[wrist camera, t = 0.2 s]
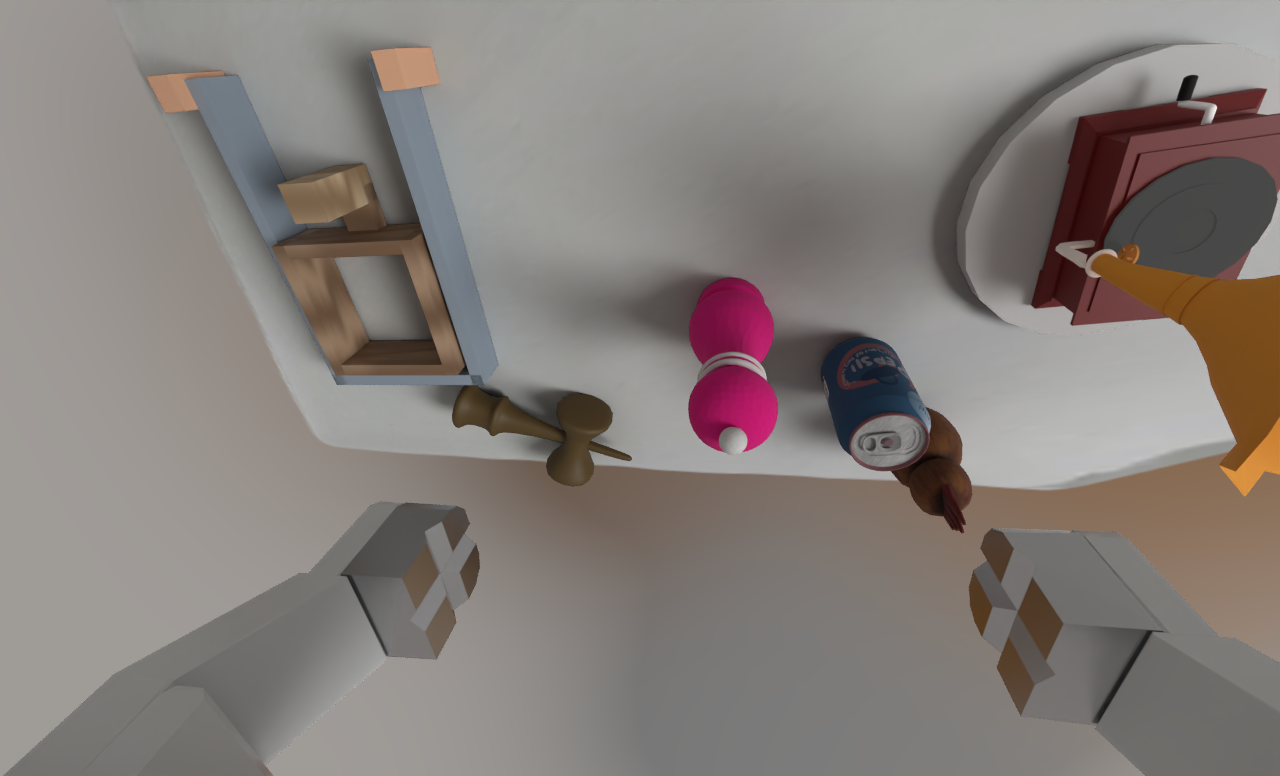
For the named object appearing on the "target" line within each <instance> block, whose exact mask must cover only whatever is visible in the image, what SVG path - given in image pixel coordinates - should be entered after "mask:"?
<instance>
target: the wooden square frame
mask: <svg viewBox="0 0 1280 776" xmlns="http://www.w3.org/2000/svg"><path fill="white" fill-rule="evenodd" d="M278 187H279V189H280V192H281V194H282V196H283V198H284V200H285V202H286V205H287V207H288V209H289V211H290V213H291V215H292V218H293V220H294V222H295V224H305V223H324V222H330V221H332V220H335V219H337V218H339V217H341V216H343V219H344V221H345V224H346V226H347V227H340V228H321V229H309V230H306V231H304V232H302V233H300V234H298V235H295V236H293V237H291V238H289V239H287V240H285V241H282V242H280V243H278V244H276V245H274V246H271V247H272V249H273V251H274V253H275V255H276V257H277V259H278V261H279V263H280V265H281V267H282V269H283V271H284V273H285V275H286V277H287V279H288V281H289V283H290V285H291V287H292V289H293V291H294V293H295V295H296V297H297V299H298V301H299V303H300V305H301V307H302V309H303V311H304V313H305V315H306V317H307V319H308V321H309V323H310V325H311V327H312V329H313V331H314V333H315V335H316V337H317V339H318V341H319V343H320V345H321V347H322V349H323V351H324V353H325V355H326V357H327V359H328V361H329V363H330V365H331V367H332V369H333V371H334V373H335V375H458V374H459V373H460V372H461V370H462V369H463V368H464V367H465V365H466V362H465V359H464V356H463V353H462V349H461V346H460V343H459V340H458V337H457V334H456V331H455V328H454V325H453V322H452V319H451V316H450V312H449V309H448V306H447V303H446V300H445V297H444V294H443V291H442V288H441V285H440V282H439V279H438V275H437V272H436V269H435V266H434V263H433V260H432V257H431V254H430V251H429V248H428V245H427V242H426V238H425V235H424V232H423V229H422V226H421V223H416V224H397V225H387V223H386V220H385V217H384V215H383V212H382V209H381V206H380V204H379V201H378V198H377V195H376V192H375V190H374V187H373V184H372V181H371V179H370V176H369V173H368V170H367V168H366V165H365V164H356V165H343V166H333V167H330V168H327V169H324V170H321V171H318V172H315V173H312V174H309V175H306V176H303V177H300V178H297V179H293V180H290V181H287V182H284V183H281V184H278ZM381 255H403V256H404V259H405V261H406V264H407V267H408V270H409V273H410V275H411V278H412V281H413V284H414V287H415V290H416V292H417V295H418V298H419V301H420V304H421V306H422V309H423V312H424V315H425V318H426V320H427V323H428V326H429V329H430V332H431V335H432V337H433V340H430V341H369V339H368V336H367V334H366V332H365V330H364V327H363V325H362V323H361V320H360V318H359V316H358V313H357V311H356V309H355V307H354V304H353V302H352V300H351V297H350V295H349V293H348V290H347V288H346V286H345V284H344V281H343V279H342V277H341V274H340V272H339V270H338V267H337V265H336V263H335V261H334V258H333V257H357V256H381Z"/></svg>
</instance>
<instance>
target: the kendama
mask: <svg viewBox="0 0 1280 776" xmlns="http://www.w3.org/2000/svg"><path fill="white" fill-rule="evenodd" d="M556 414H557V417H558V420H559V423H560V425H561V426H562V428H563V429H564V430H561V429H559V428H557V427H554V426H552V425H550V424H548V423H545V422H543V421H541V420H539V419H537V418H535V417H533V416H531V415H529V414H527V413H525V412H523V411H522V410H520V409H518V408H517V407H515V406H514V405H513V404H512V403H511V402H510V400H509V398H508V397H507V396H504V397H500V398H499V397H494V396H491V395H489V394H487V393H485V392H483V391H482V390H480V389H479V387H478V385H465V386H464V387H463V388H462V390H461V391H460V393H459V395H458V396H457V399H456V401H455V404H454V407H453V413H452V421H453V424H454V425H455V427H457V428H460V427H462V426H464V425H476V426H479V427H482V428H485V429H486V430H487V431H488V432H489V433H490V435H491V436H495V435H497V434H499V433H503V432H507V433H517V434H523V435H529V436H535V437H540V438H545V439H549V440H554V441H558V442H562V443H564V444H563V445H561V446H560V447H558V448H557V449H555V450H554V451H553V452H552V454H551V455H550V456H549V458H548V459H547V465H546V468H547V472H548V475H549V476H550V477H551V478H552V479H553V480H555V481H557V482H559V483H561V484H563V485H568V486H581V485H583V484H585V483H586V482H588V481H589V480H590V478H591V476H592V475H593V471H594V463H593V461H592V458H591V455H590V453H589V451H588V450H590V451H594V452H597V453H600V454H604V455H607V456H611V457H614V458H618V459H622V460H626V461H631V460H632V457H631V456H629V455H627V454H625V453H623V452H620V451H617V450H615V449H612V448H609V447H607V446H604V445H601V444H598V443H595V442H593V441H590V440H591V439H592V438H594V437H596V436H598V435H600V434H601V433H603V432H605V431H606V430H607V429H608V428H609V426H610V425H611V423H612V415H613V413H612V411H611V409H610V407H609V406H608V405H607V404H606V403H605V402H604V401H602V400H600V399H598V398H596V397H594V396H591V395H586V394H582V393H580V394H570V395H568V396H565V397H563V398H562V400H561V401H560V402H559V403H558V406H557V411H556Z"/></svg>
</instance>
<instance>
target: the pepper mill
mask: <svg viewBox="0 0 1280 776" xmlns="http://www.w3.org/2000/svg"><path fill="white" fill-rule="evenodd" d="M773 333H774V324H773V318H772V315H771V313H770V311H769V309H768V307H767V306H766V305H765V304H764V299H763V297H762V295H761V293H760V292H759V290H758V289H757V288H756V287H755V286H754V285H752V284H751V283H749V282H748V281H745V280H742V279H737V278H728V279H722V280H719V281H716V282H714V283H713V284H711V285H710V286H708V287H707V288H706V289H705V290H704V292H703V293H702V294H701V296H700V298H699V300H698V304H697V308H696V309H695V311H694V313H693V315H692V317H691V320H690V325H689V335H690V342H691V346H692V348H693V351H694V353H695V355H696V356H697V358H698V360H699V361H700V362H701V363H702V364H703V366H702V368H701V370H700V372H699V375H698V383H697V384H696V385H695V387H694V389H693V391H692V393H691V395H690V399H689V407H688V411H689V419H690V423H691V425H692V428H693V430H694V432H695V433H696V434H697V436H698V437H699V438H700V439H701V440H702V441H703V442H704V443H705V444H706V445H708V446H710V447H711V448H714V449H716V450H718V451H722V452H725V453H727V454H730V455H737V454H740V453H741V452H745V451H749V450H751V449H753V448H755V447H757V446H759V445H760V444H762V443H763V442H764V441H765V440H766V439H767V438H768V437H769V435H770V434H771V432H772V431H773V429H774V426H775V424H776V420H777V415H778V403H777V399H776V395H775V393H774V391H773V389H772V387H771V386H770V385H769V383H768V382H767V377H766V373H765V370H764V368H763V367H762V365H761V364H760V363H761V362H762V361H763V360H764V358H765V357H766V355H767V353H768V351H769V349H770V347H771V344H772V341H773Z"/></svg>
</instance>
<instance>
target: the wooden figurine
mask: <svg viewBox="0 0 1280 776" xmlns="http://www.w3.org/2000/svg"><path fill="white" fill-rule="evenodd" d="M925 408H926V409H927V411H928V413H929V416H930V420H931V428H930V432H929V437H930V441H929V445H928V448H927V450H926V452H925V453H924V454H923V455H922V457H921V458H919V459H918V460H917V461H916V462H914V463H913V464H911V465H909V466H907V467H904V468H901V469H898V470H893V471H891V472H892V473H893V474H894V475H895V477H896V478H897V479H898V480H899V481H900V482H901V483H902V484H903V485H905V486H907V487H909V488H910V492H911V495H912V497H913V499H914V501H915V503H917V505H918V506H919V507H920V508H921V509H922V510H923V511H924V512H926V513H928V514H930V515H935V516H944V518H945V519H946V521H947V523H948V524H949V526H950V527H951V529H952V530H956V531H958V530H960V532H961V533H964V530H963V527H962V524H963V525H966V523H965V520H964V517H963V515H962V512H961V511H962V510H963V509H964V508H966V507H967V506H968V504H969V503H970V500H971V497H972V487H971V481H970V479H969V477H968V475H967V473H966V472H965V471H964V469H963V468H962V467H961V466H960V463H961V460H962V441H961V438H960V435H959V434H958V432H957V430H956V429H955V428H954V426H953V425H952V424H951V423H950V422H949V421H948V420H947V419H946V418H945V417H944V416H943V415H942V414H940V413H938V412H937V411H934V410H932V409H929V408H927V407H925ZM961 523H962V524H961Z"/></svg>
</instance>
